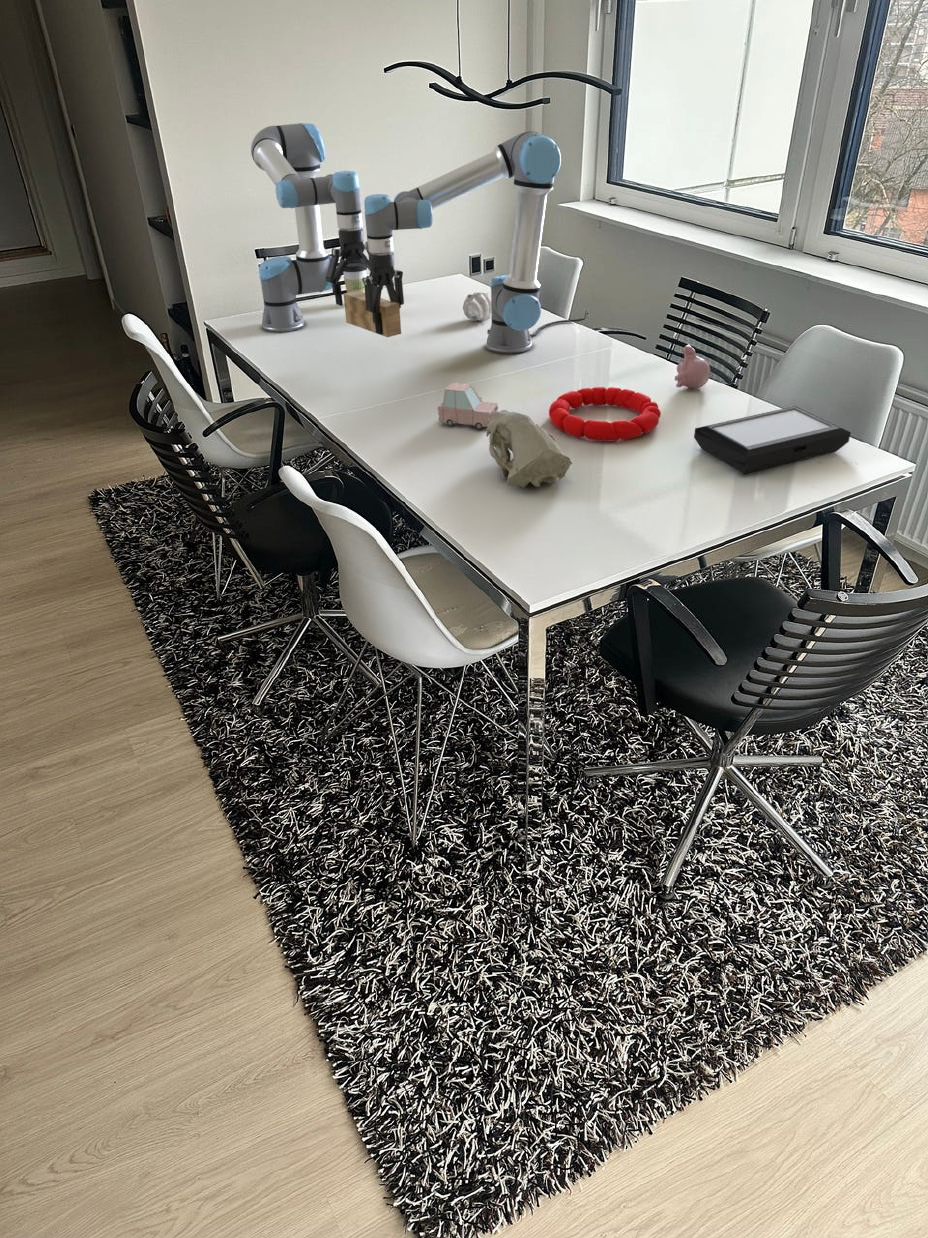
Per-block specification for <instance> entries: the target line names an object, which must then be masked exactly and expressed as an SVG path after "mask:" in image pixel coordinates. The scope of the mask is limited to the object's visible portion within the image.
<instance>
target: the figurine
mask: <svg viewBox="0 0 928 1238" xmlns="http://www.w3.org/2000/svg"><path fill="white" fill-rule="evenodd" d="M682 354H683V358H684V359H683V361H682V362H679V363H678V364H677V365H676V372H677V375H675V376H674V381H675V382H676V381H677V382H676V384H675V386H676V388H681V387H686V388H688V389H693V390H694V389H695V390H696V389H700V388H703V387H704V386H705V385H706V384H707V383H708V382H709V379H710V377H711V367H710V364H709V362H708V361H706V359H704V358H702V357H700V356H697V353H696V350H695V349H694V347H692V345H690V344H686V345H685V346H684V347H683V348H682Z"/></svg>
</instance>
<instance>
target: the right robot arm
mask: <svg viewBox="0 0 928 1238" xmlns="http://www.w3.org/2000/svg"><path fill="white" fill-rule="evenodd" d="M561 155H562V154H561V151H560V148H559V146H558V145H557V144H556V142H555V141H554V140H553V139H552V138H551V137H549V136H548V135H545V134H543V133H540V132H538V131H533V130H527V131H524V132H523V131H522V132H520V133H519V134H516V135H515V136H513V137H511V138H509V139H507V140H505V141H503V142H502V143H500V144H498V145H495V146H494V149H493V151H491V152H489V153H487V154H485V155H483V156H481V157H478V158H477V159H474V160H472V161H469V162H468V163H465V164H463V165H461V166H459V167H457V168H455V169H453V170H451V171H449V172H447V173H444V174H442V175H440V176H437V177H436V178H434V179H432V180H430V181H428V182H426V183H423V184H420V185H419V186H417V187H415V188H412V189H410V190H409V191H401V192H398V193H397V194H396V195H395V197H394V199H393V201H391V197H390V196H389V195H388V194H385V193H382V194H381V193H376V194H375V193H374V194H370V195H367V196H366V197H365V198H364V204H363V205H364V221H365V230H366V231H365V232H366V242H367V245H368V252H369V253H370V254H369V255H368V254H367V255H368V260H369V266H370V269H371V271H370V270H369V275H368V276H366V278H365V277H364V278H363V279H362V281H363V283H364V287H365V302H366V310H367V311H369V312H372V316H373V323H375V329H376V333H375V334H377V335H380V336H382V334H383V329H382V317H381V313H380V312H379V306H380V299H381V298H382V291H383V289H384V286H385V289H386V291H387V294H388V298H389V301H391V302H395V303H398V304H399V308H400V309H402V305H405V298H404V286H403V275H404V271H402V270H398V269H395V253H394V252H393V251H394V239H393V231H401V230H422V229H428V228H431V227H432V225H433V222H434V221H433V220H434V217H433V210H436V209H437V208H440V207H443V205H444V206H445V205H446V204H448V203H450V202H452V201H453V202H454V201H455V200H457V199H459V198H461V197H464V196H466V195H467V194H468V195H469V194H470V193H472V192H474V191H476V190H479V189H481V188H483V187H485V186H487V185H489V184H491V183H494V182H497V181H498V180H501V179H506V180H509V179H511V178H513V177H514V178H513V186H514V187H515V189H516V191H517V197H516V206H515V215H514V225H513V233H512V241H511V242H512V243H511V252H510V261H509V268H508V271H509V272H508V274H502V275H496V276H494V277H492V278H491V280H490V281H491V282H490V296H491V325H490V327H489V329H487V330H486V334H487V338H486V344H485V345H486V347H485V348H486V349H487V350H488V351H489V352H492V353H496V354H503V355H512V354H513V355H514V354H520V353H525V352H528V351H529V350H531V349H532V346H533V345H532V344H533V341H532V337H535V336H537V335H538V333H539V332H540V330H542V329H544V328H546V327H548V326H552V325H557V324H562V323H574V322H575V323H576V322H581V321H584V320H586V318H587V317H588V315H589V314H590V313H589V311H588V310H585V313H584V317H581V318H575V319H564V320H556V321H552V322H548V323H546V324H543V325H541V326H540V327H538V328H537V330H536V331H535V332H534V333H532V334H531V333H530V329H531V328H533V327H534V326H535V325H536V324H537V323H538V321H539V320H540V319H541V318H540V317H541V314H542V306H541V302H540V301H539V298H540V291H541V283H540V282H539V281H538V280H537V276H538V269H539V268H538V267H539V260H540V252H541V245H542V238H543V230H544V221H545V214H546V207H547V199H548V194H550V192H552V191H553V190H554V185H555V177H556V176H557V174H558V173H559V171H560V168H561V163H562V156H561ZM372 280H373V281H374V282H372ZM372 283H373V288H374V290H373V289H372Z"/></svg>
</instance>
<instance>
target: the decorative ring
mask: <svg viewBox="0 0 928 1238" xmlns="http://www.w3.org/2000/svg"><path fill="white" fill-rule="evenodd" d="M583 405H584V406H586V407H587V406H591V405H593V406H604V405H608V406H614V407H619V408H624V409H628V410H632V411H635V412H636V413H638V414H639V415H637V416H635V417H632V418H631V419H630V420H625V419H624V420H623V419H622V420H614V421H611V422H609V421H607V420H606V421H605V420H593V419H587V420H586V421H585V419H584V418H582V417H579V416H577V415H573V414H571V413H570V410H571V409H579V408H581V407H582V406H583ZM548 416H549V419H550V422H551V423H552V425H553V426H554V427H555V428H556V429H558V430H559V431H561V432H563V433H567V434H568V435H569V436H573V437H576V438H580V439H582V438H583V437H585V438H586V439H587V440H591V441H601V442H602V441H603V442H608V441H609V442H610V441H611V442H612V441H615V442H616V441H618V440H630V439H634V438H638V437H641V436H642V434H647V433H650V432H651V431H653V430H654V429H655V428H656V427H657V426H658V424H659V422H660V421H659V420H660V417H661V410H660V408H659V405H658V403H657V402H656V401H652V399H651V397H649V396H648V395H646V394H644V393H642V392H635V391H634V390H632V389H628V388H624V389H622V388H620V387H613V386H612V387H611V386H610V387H608V388H606V387H604V386H594V387H585V388H584V387H583V388H580V389H578V390H571V391H568V392H565V393H563V394H561V395H560V396H558V397H557V398H556V400H554V401H552V403H551V404H550V407H549V409H548Z"/></svg>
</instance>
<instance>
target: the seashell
mask: <svg viewBox="0 0 928 1238" xmlns="http://www.w3.org/2000/svg"><path fill="white" fill-rule="evenodd" d="M462 311H463V315H465V317H466V318H467V319H468V320H470V321H472V322H476V321H487V320H488V319H489V318H490V317H492V315H491V295H489V294H488V293H484V292H474V293H472V294H471V293H470V294H467V296H466V297H465V299H464V300H463V305H462Z"/></svg>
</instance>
